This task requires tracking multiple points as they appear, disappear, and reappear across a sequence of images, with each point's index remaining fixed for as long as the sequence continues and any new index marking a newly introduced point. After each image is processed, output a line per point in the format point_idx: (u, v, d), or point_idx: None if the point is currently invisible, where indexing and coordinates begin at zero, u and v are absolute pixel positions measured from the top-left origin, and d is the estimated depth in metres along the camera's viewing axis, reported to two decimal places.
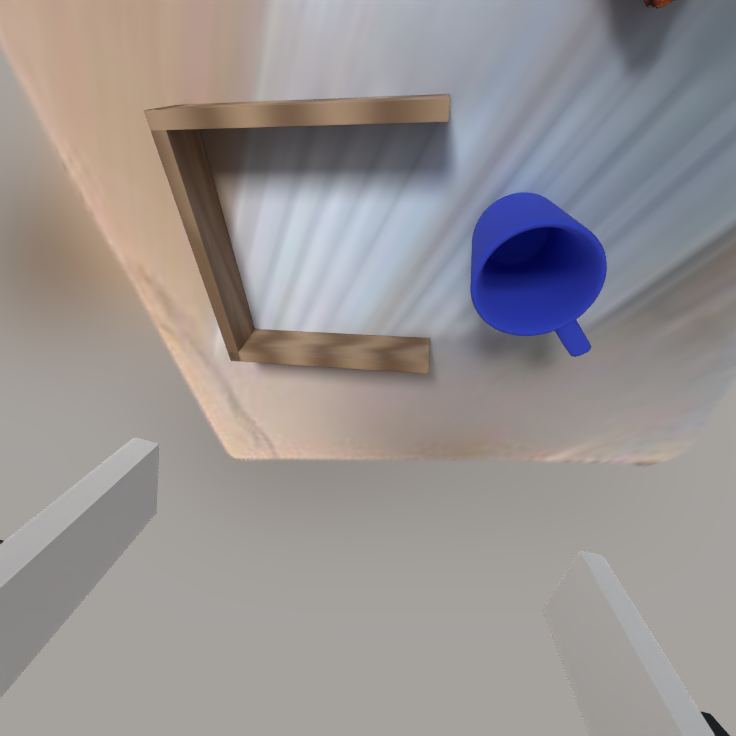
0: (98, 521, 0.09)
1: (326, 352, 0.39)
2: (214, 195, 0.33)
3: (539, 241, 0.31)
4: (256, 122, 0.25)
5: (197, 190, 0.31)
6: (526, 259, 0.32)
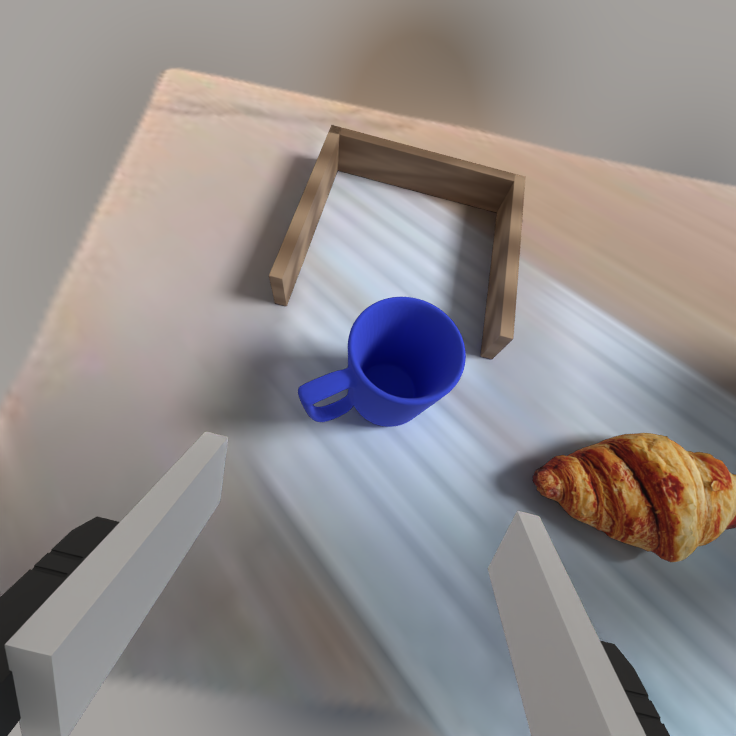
0: (187, 505, 0.10)
1: (315, 202, 0.38)
2: (455, 197, 0.44)
3: None
4: (512, 228, 0.38)
5: (470, 182, 0.42)
6: None
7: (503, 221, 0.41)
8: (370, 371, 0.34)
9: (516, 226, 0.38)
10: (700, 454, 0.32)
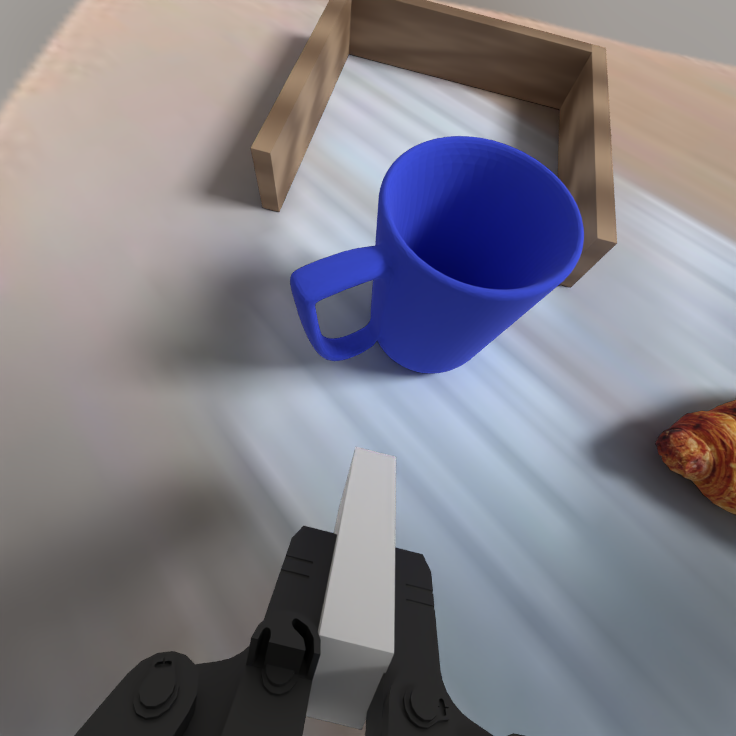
0: None
1: (320, 68, 0.27)
2: (505, 88, 0.33)
3: None
4: (596, 105, 0.27)
5: (529, 60, 0.31)
6: None
7: (576, 108, 0.30)
8: None
9: (602, 103, 0.27)
10: None
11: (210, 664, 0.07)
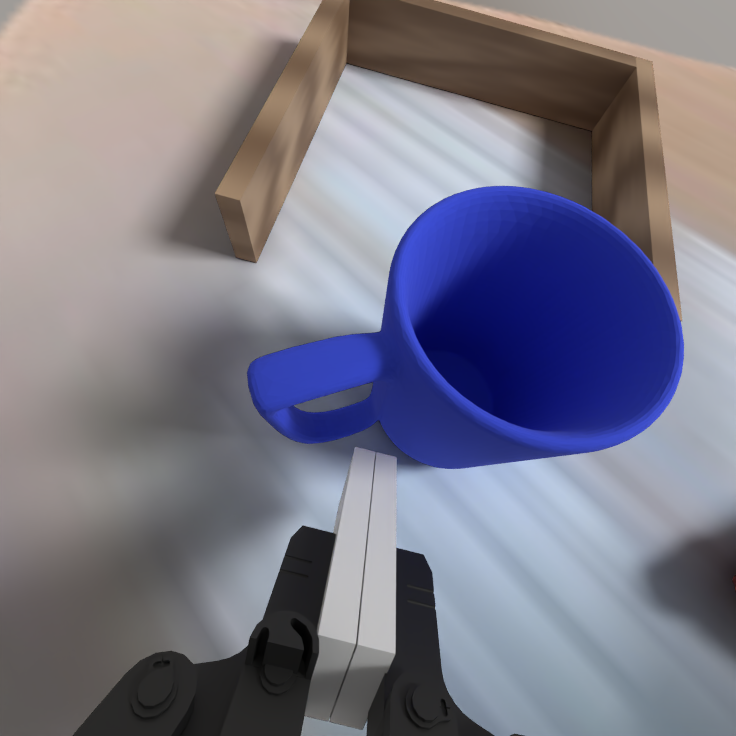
0: None
1: (309, 84, 0.22)
2: (529, 105, 0.29)
3: None
4: (646, 134, 0.22)
5: (559, 74, 0.26)
6: None
7: (616, 133, 0.25)
8: None
9: (652, 131, 0.22)
10: None
11: (209, 664, 0.07)
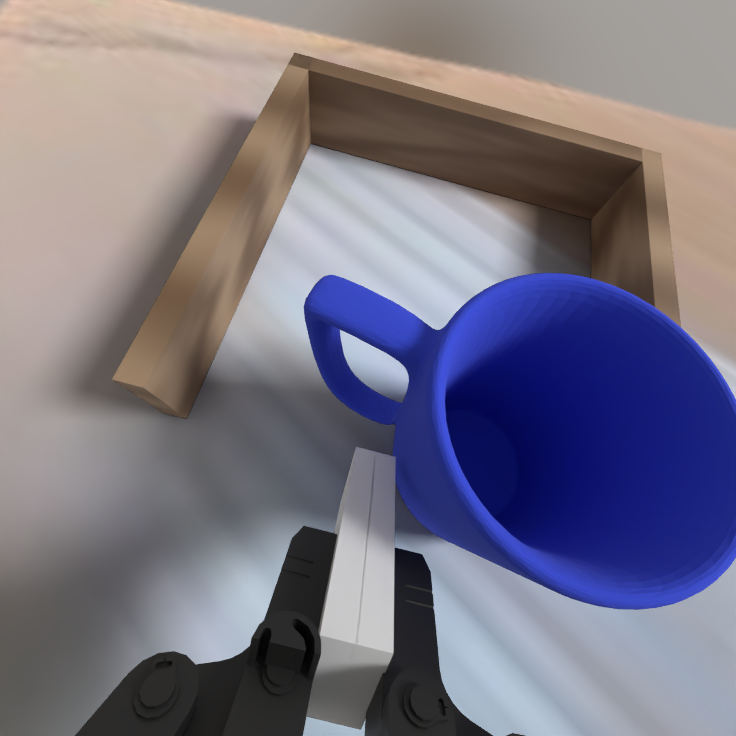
0: None
1: (252, 199, 0.18)
2: (519, 192, 0.25)
3: None
4: (655, 256, 0.19)
5: (553, 165, 0.23)
6: None
7: (619, 238, 0.22)
8: (471, 416, 0.18)
9: (662, 251, 0.19)
10: None
11: (210, 664, 0.07)
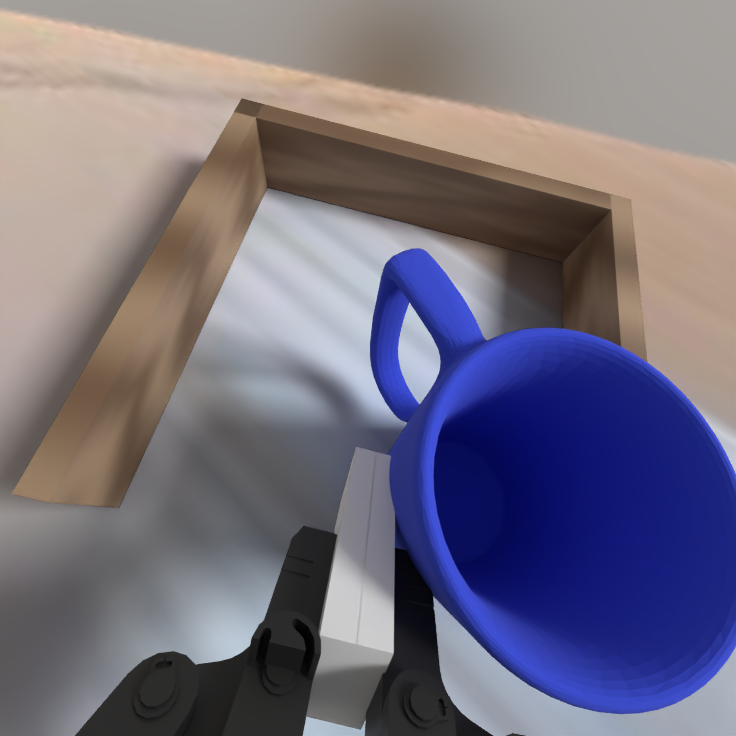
0: None
1: (190, 264, 0.17)
2: (486, 236, 0.24)
3: None
4: (624, 317, 0.17)
5: (519, 211, 0.22)
6: None
7: (589, 289, 0.20)
8: (481, 464, 0.18)
9: (631, 311, 0.18)
10: None
11: (211, 664, 0.07)
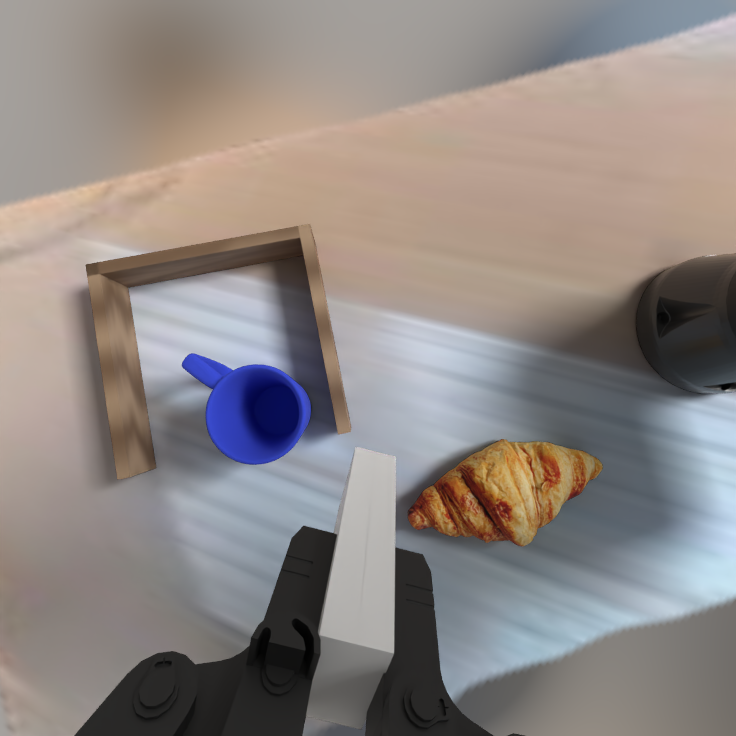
0: None
1: (119, 368, 0.37)
2: (257, 261, 0.41)
3: (258, 410, 0.39)
4: (315, 304, 0.37)
5: (260, 251, 0.39)
6: (261, 394, 0.39)
7: None
8: (288, 390, 0.40)
9: (318, 299, 0.37)
10: (541, 450, 0.37)
11: (210, 664, 0.07)
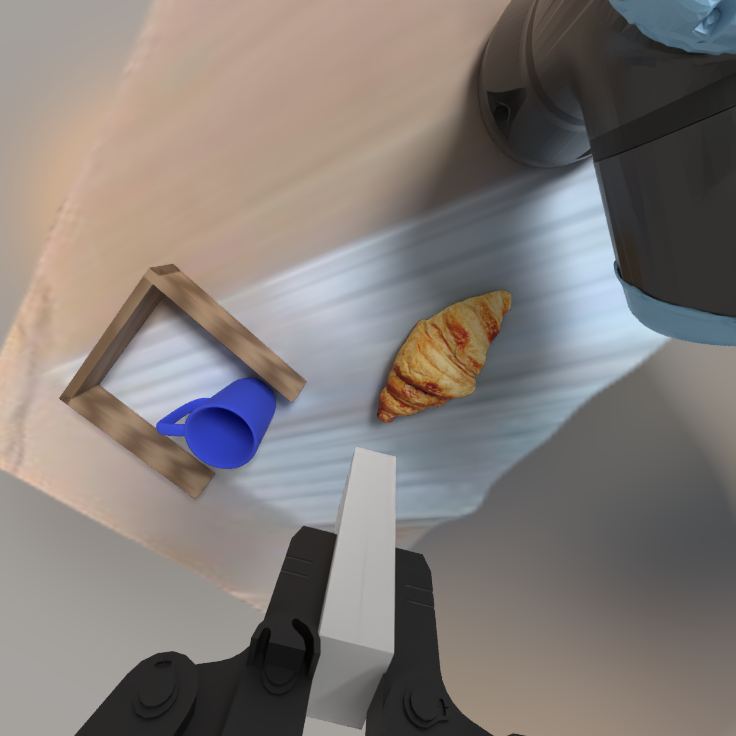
0: None
1: (139, 441, 0.49)
2: (150, 311, 0.46)
3: None
4: (205, 326, 0.42)
5: (141, 309, 0.43)
6: None
7: None
8: None
9: (204, 321, 0.41)
10: (447, 318, 0.40)
11: (210, 664, 0.07)
